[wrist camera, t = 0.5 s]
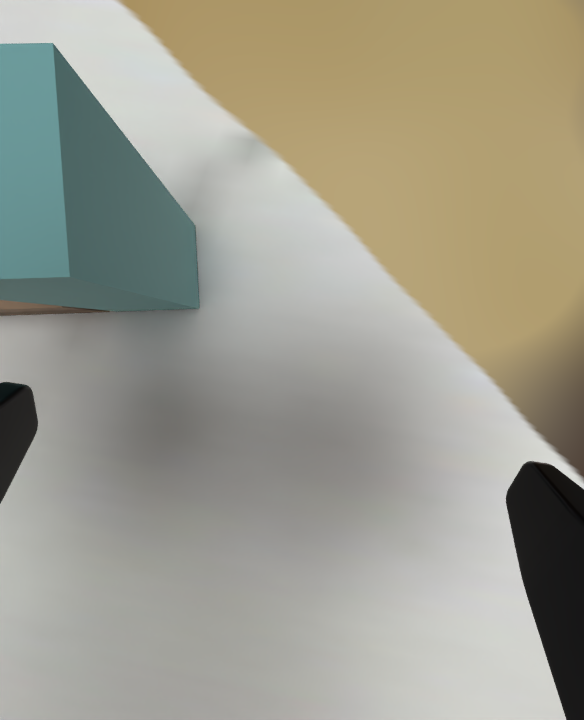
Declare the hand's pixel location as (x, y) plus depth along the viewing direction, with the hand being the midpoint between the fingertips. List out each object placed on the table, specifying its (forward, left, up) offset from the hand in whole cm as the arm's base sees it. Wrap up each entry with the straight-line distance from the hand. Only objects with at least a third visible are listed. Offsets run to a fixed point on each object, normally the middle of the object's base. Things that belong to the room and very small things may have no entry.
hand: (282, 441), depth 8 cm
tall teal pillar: (-3, +7, -14) cm, 16 cm away
